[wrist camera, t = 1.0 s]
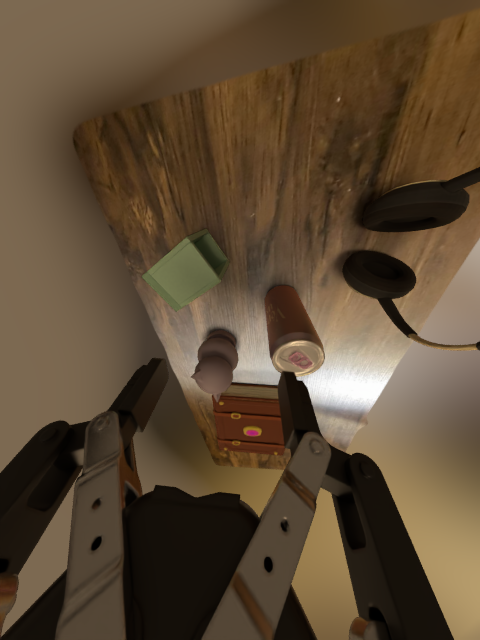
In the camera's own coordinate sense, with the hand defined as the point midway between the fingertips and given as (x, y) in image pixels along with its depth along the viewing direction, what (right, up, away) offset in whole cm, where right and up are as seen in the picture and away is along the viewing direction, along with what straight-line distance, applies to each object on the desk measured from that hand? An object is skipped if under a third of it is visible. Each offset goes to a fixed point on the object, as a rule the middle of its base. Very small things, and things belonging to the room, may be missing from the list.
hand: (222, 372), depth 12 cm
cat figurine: (-3, -1, +26) cm, 27 cm away
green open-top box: (-5, +14, +17) cm, 22 cm away
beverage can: (+9, +8, +20) cm, 23 cm away
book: (+6, -26, +42) cm, 50 cm away
